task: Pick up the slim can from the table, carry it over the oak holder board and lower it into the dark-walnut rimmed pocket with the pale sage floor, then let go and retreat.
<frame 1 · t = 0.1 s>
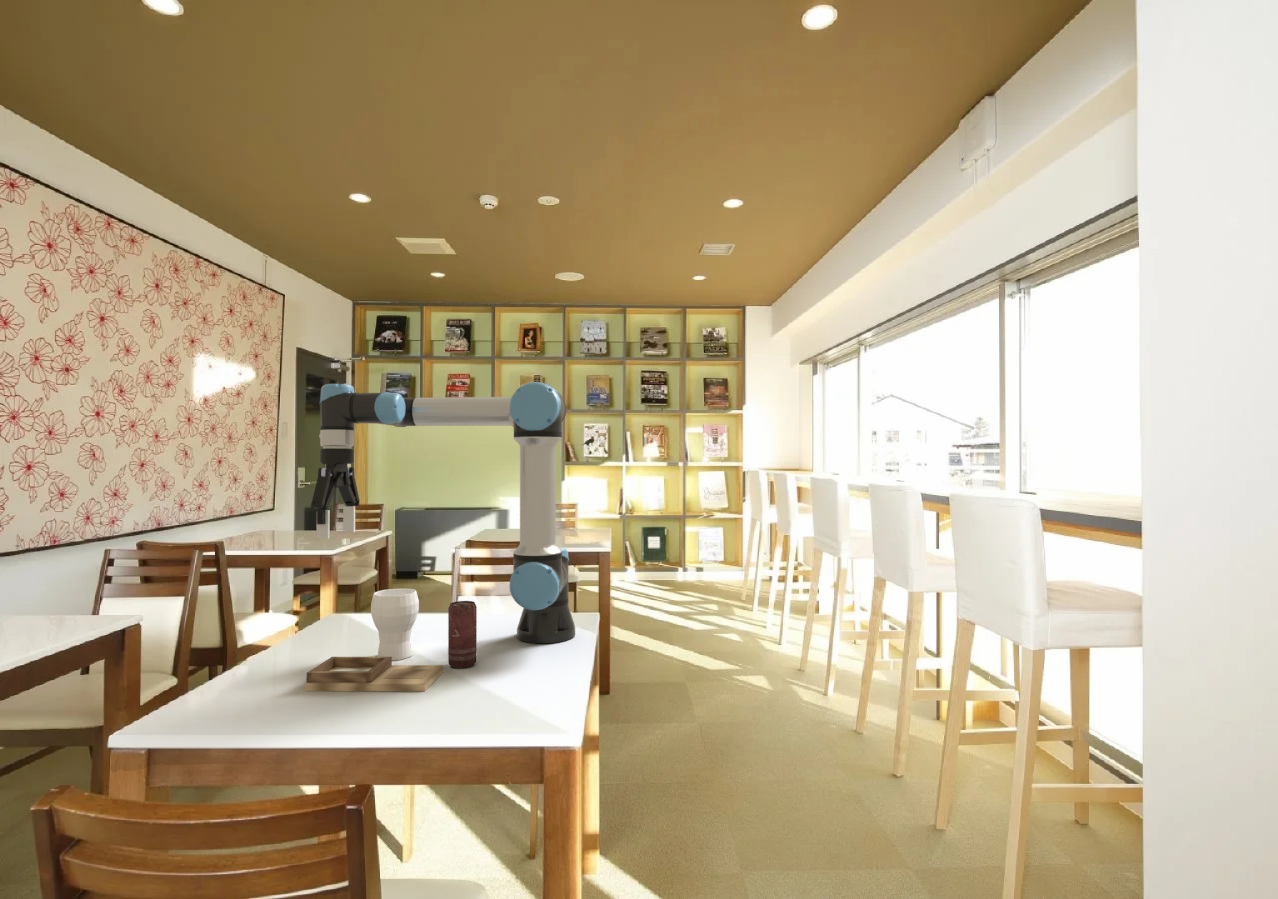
hand: (336, 535, 163), 28 cm above the table, fingers open, 13 cm apart
can: (463, 666, 151), on the table
holder board: (377, 681, 140), on the table
cup: (395, 657, 158), on the table
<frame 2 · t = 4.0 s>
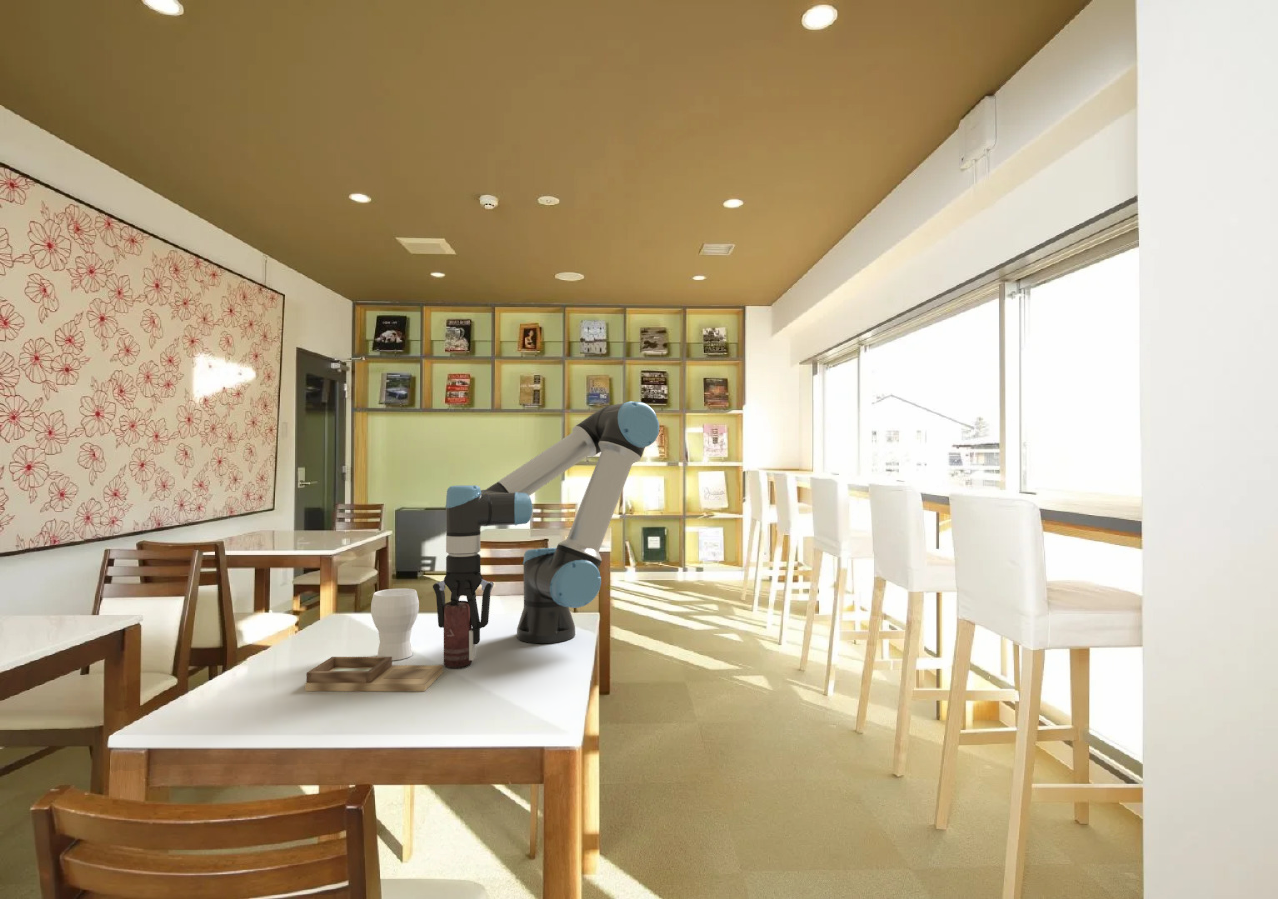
hand: (463, 658, 151), 2 cm above the table, fingers open, 3 cm apart
can: (458, 666, 151), on the table, touching gripper, hand
everything else where it was.
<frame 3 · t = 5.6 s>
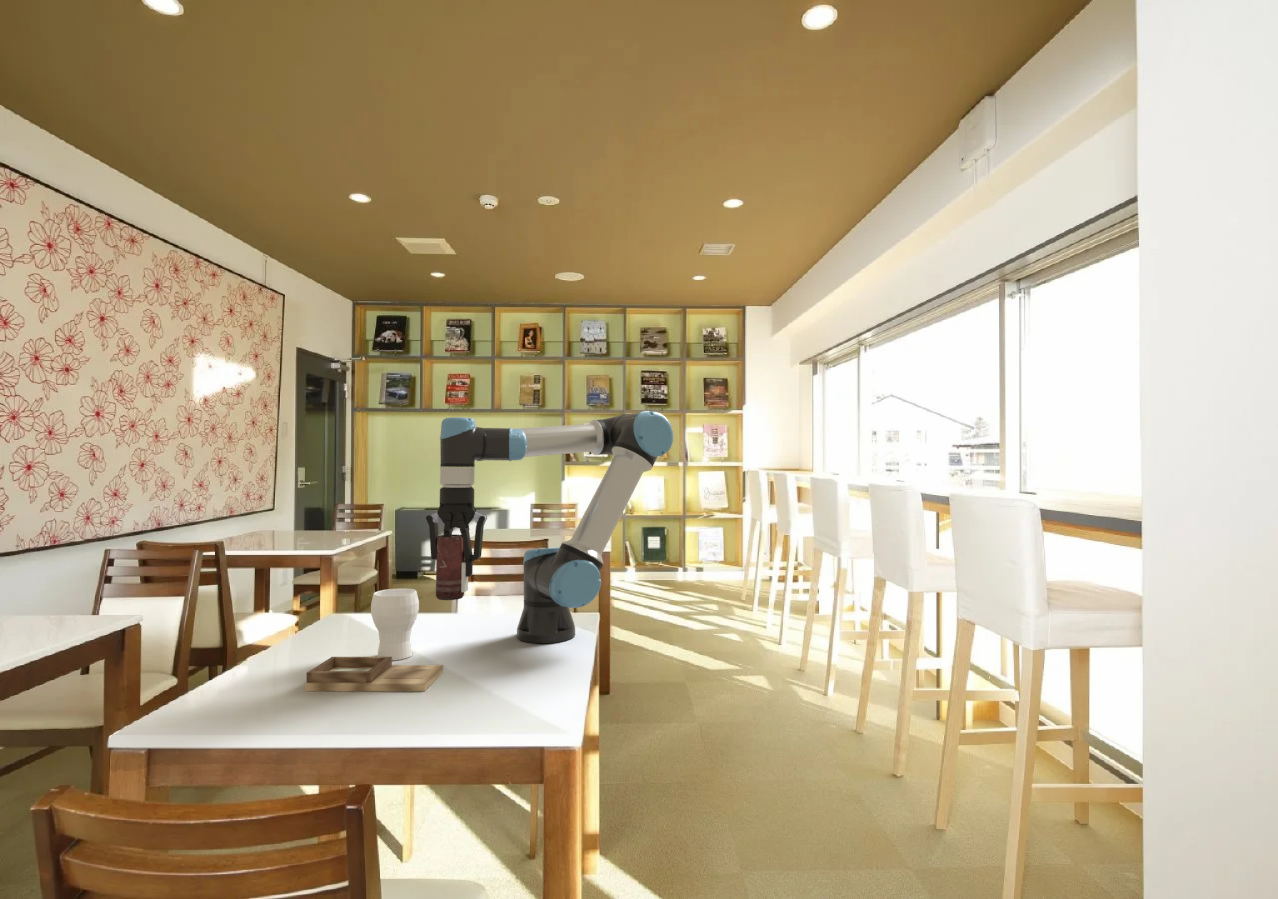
hand: (455, 590, 150), 17 cm above the table
can: (450, 598, 150), point 15 cm above the table, touching gripper, hand
everything else where it was.
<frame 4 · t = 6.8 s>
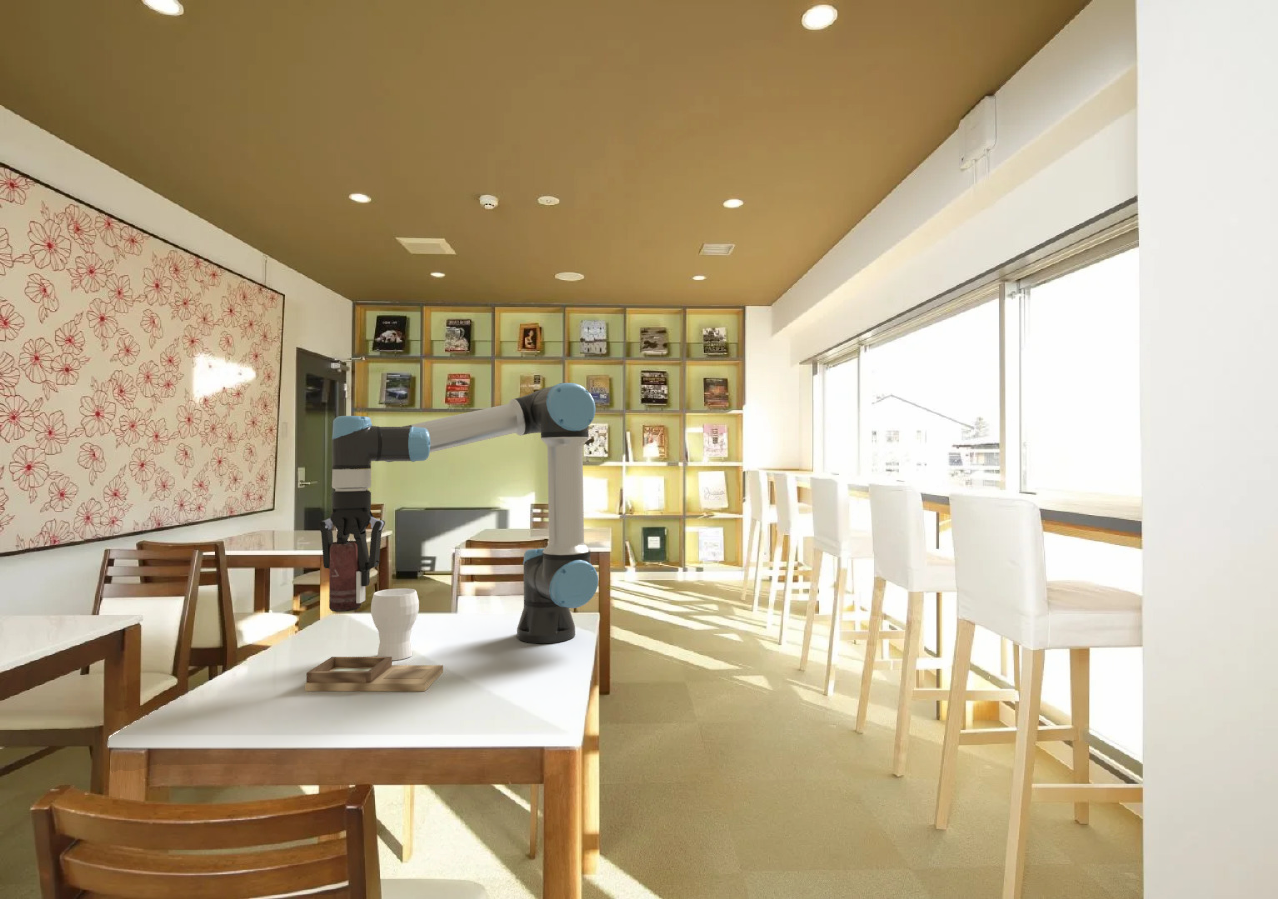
hand: (351, 601, 140), 17 cm above the table
can: (345, 609, 140), point 15 cm above the table, touching gripper, hand
everything else where it was.
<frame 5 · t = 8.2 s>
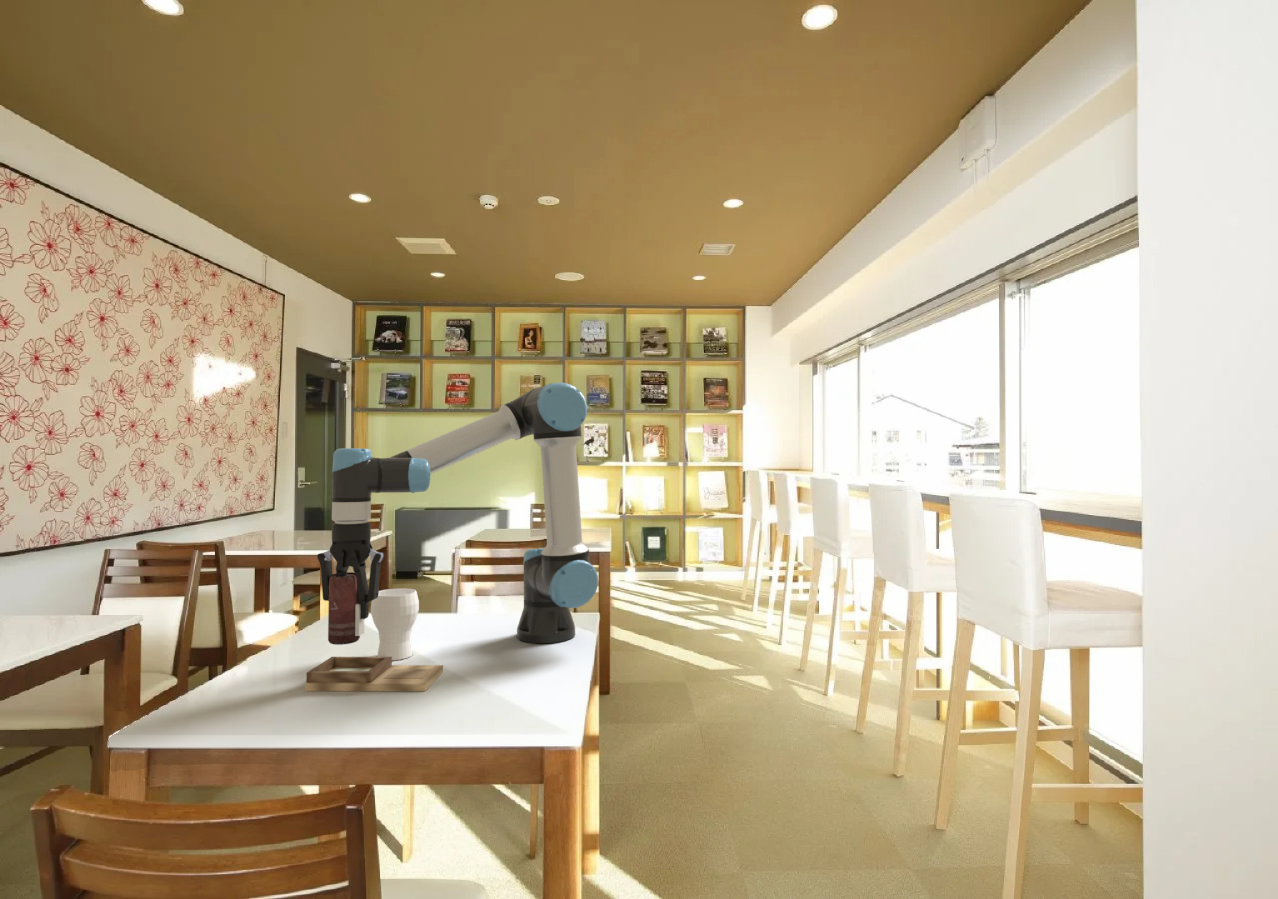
hand: (350, 634, 140), 10 cm above the table
can: (344, 642, 140), point 8 cm above the table, touching gripper, hand
everything else where it was.
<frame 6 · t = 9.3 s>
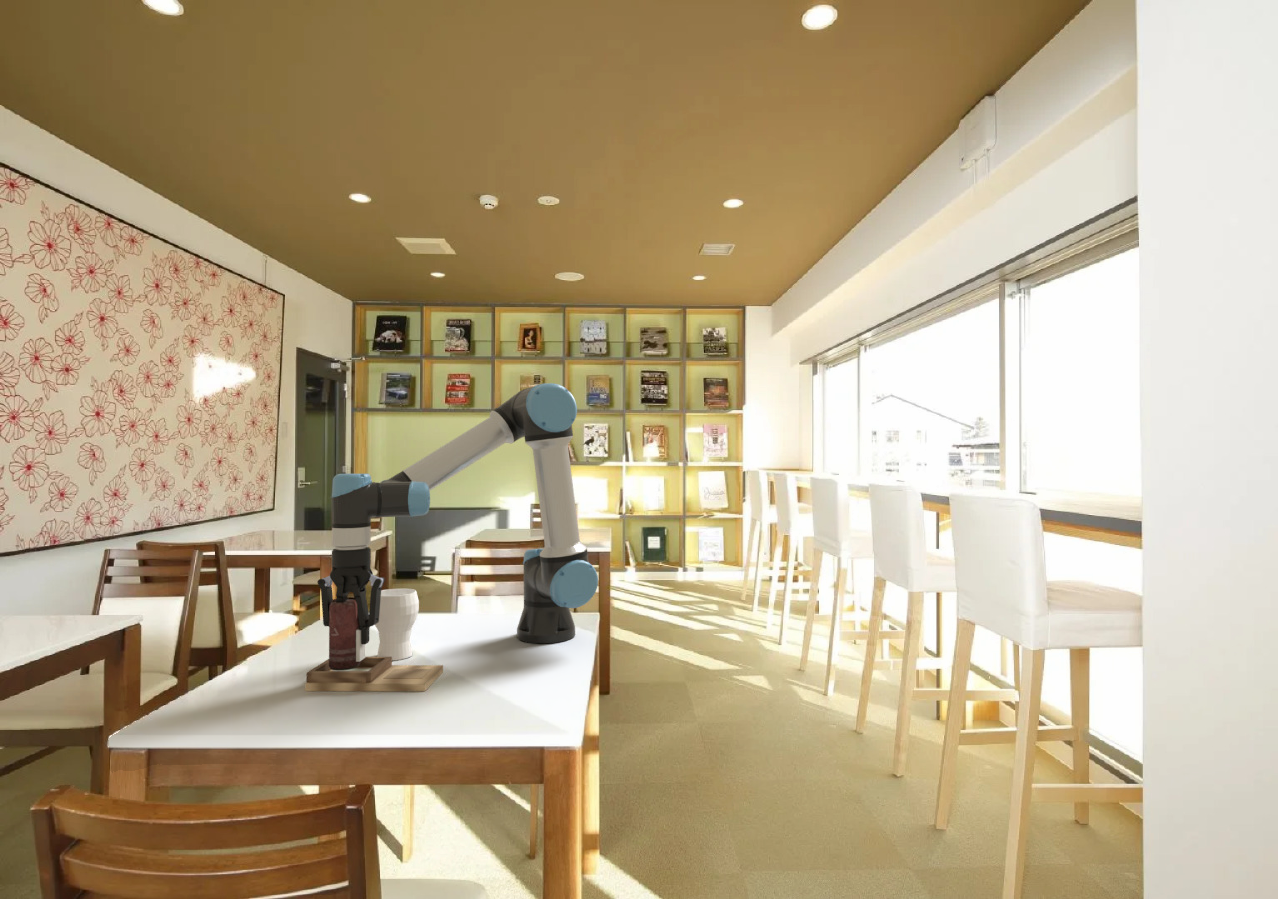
hand: (351, 659, 140), 5 cm above the table
can: (345, 667, 140), point 3 cm above the table, touching gripper, hand
everything else where it was.
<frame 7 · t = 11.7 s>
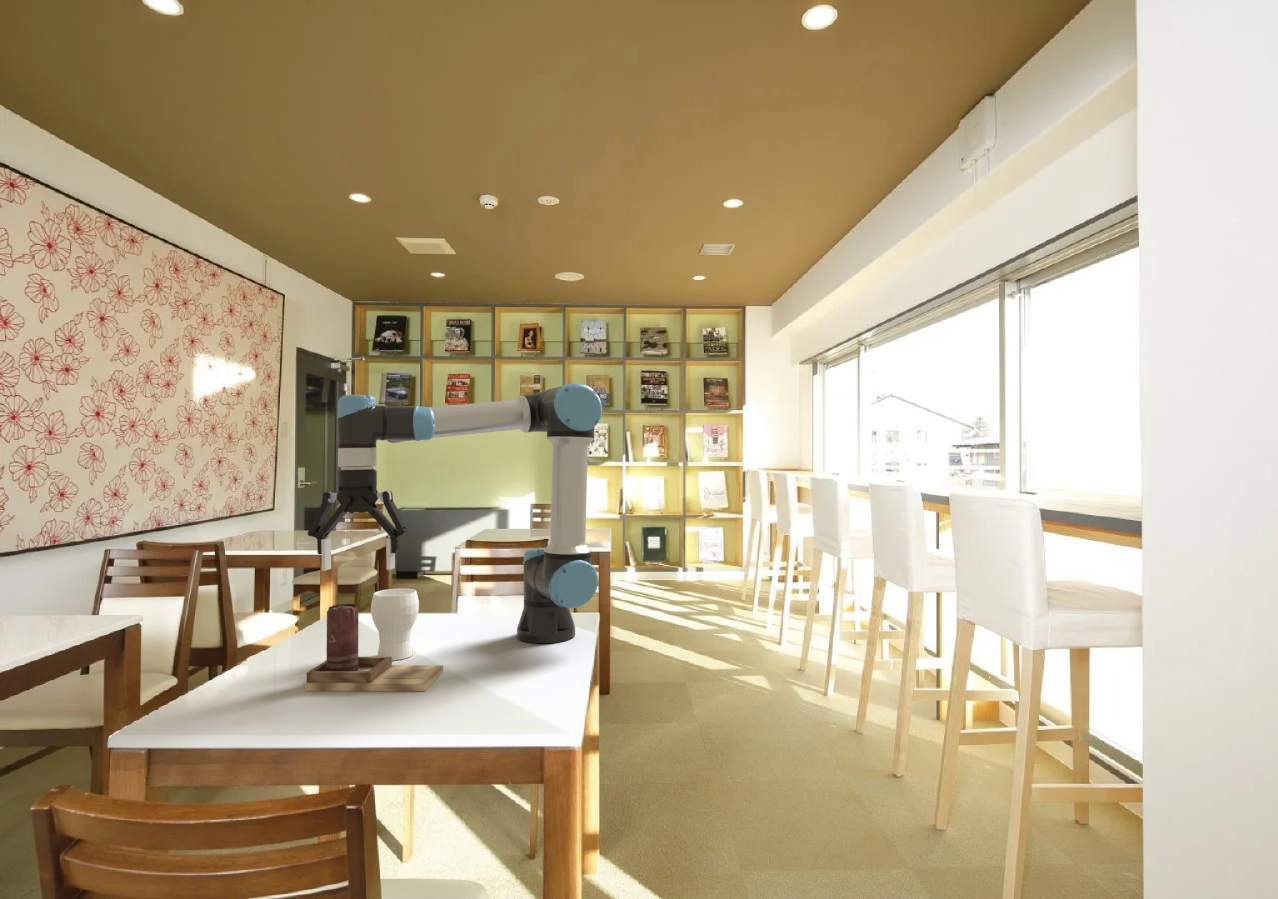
hand: (358, 569, 141), 23 cm above the table, fingers open, 13 cm apart
can: (343, 674, 140), point 1 cm above the table, touching holder board
everything else where it was.
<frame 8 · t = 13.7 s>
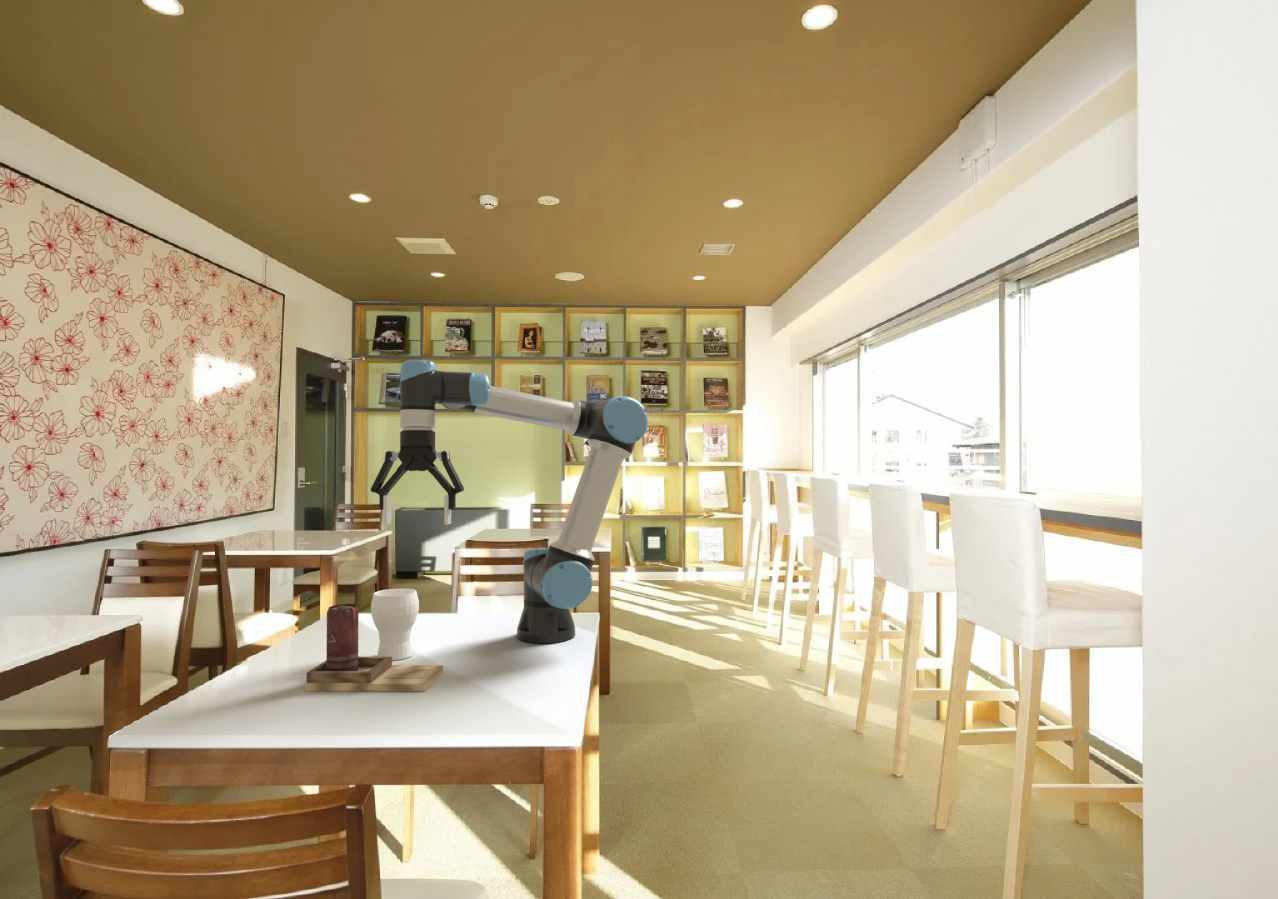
hand: (417, 524, 150), 32 cm above the table, fingers open, 13 cm apart
nothing on the table moved.
at the end: can inside the target area on the holder board (1.7 cm from its centre), point 1.4 cm above the holder board's base; can tilted 0°; the gripper is holding nothing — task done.
